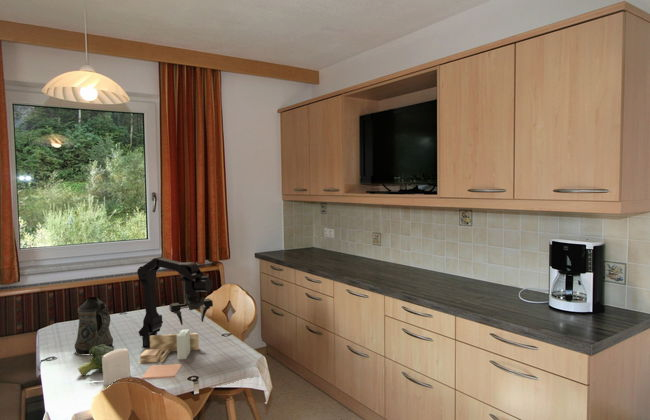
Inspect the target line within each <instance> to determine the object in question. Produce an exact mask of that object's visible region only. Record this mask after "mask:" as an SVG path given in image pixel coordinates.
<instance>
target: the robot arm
mask: <svg viewBox="0 0 650 420" xmlns="http://www.w3.org/2000/svg"><path fill="white" fill-rule="evenodd" d="M161 268H163V269H166V270H170V271H174V272H177V273H178V274H179V275H180V276H182V277H181V278H180V279H179V281H180V282H182V281H183V288H184V289H183V290H184V291H183V293H184V296H183V297H184V303H181V304H180V303H179V302H173V303H170V304H169V311H170V313H173V314H174V315H177V318H178V319H179V323H180V325H181V326H183V316H182V311H181V310H182V309H188V310H189V311H193V310H200V320H201V323H203V322H204V319H205V315H206V314H207V311H208V310H209V309H211V307H214V304H213V303H214V302H213V300H212V299H210V298H209V297H208V298H205V297H204V296H202V297H199V295H198V292H207V293H210V292H211V291H212V289H213V285H214V284H213V281H212V279H211V278H210V276H205V275H204V274H203V272H202V271H201V269H200V268H199V266H198V264H197V262H193V261H191V262H190V261H187V262H186V261H185V262H183V261H176V260H174V259H168V258H165V257H162V256H158V257H157V256H156V257H153V258H152V259H151V260H149V261H148V262H147V263H145V264H144V265H142V266H140V267H138V269H137V271H136V274H137V277H138V280H139V282H140V283H141V285H142V290H143V299H144V300H143V301H144V309H145V315H144V318H143V322H142V327H141V328H140V329H139V331H138V335H139V336H140V337H141V338H142V340H141V341H142V346H141V348H142V349H144V348H147V349H148V348H150V336H152V335H158V332H160V331H161V328H162V326H163V323H164V321H163V315H162V314H159V313H158V310H157V309H158V308H157V302H156V301H157V300H156V291H155V290H156V289H155V281H156V278H157V271H159V270H160V269H161Z"/></svg>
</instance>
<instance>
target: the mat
mask: <svg viewBox="0 0 650 420" xmlns="http://www.w3.org/2000/svg"><path fill="white" fill-rule="evenodd" d="M182 365H183V363H177V364H176V363H175V364H174V363H172V364H159V365H158V364H157V365H156V364H154V365H150V367H148V368H147V370H146V371H145V372H144V374H143V375H142V376H141V380H151V379H165V378H169V379H170V378H175V377H176V374H177V373H178V371H179V369H180V368H181V366H182Z"/></svg>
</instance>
